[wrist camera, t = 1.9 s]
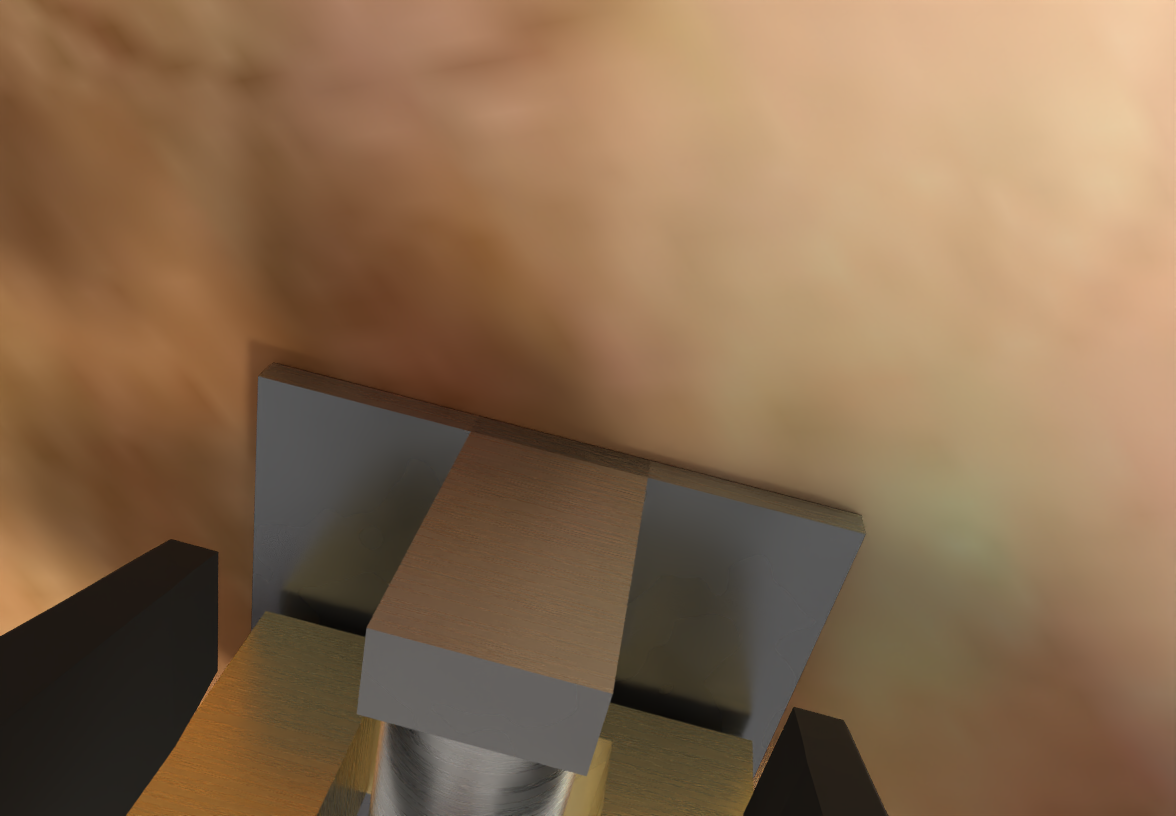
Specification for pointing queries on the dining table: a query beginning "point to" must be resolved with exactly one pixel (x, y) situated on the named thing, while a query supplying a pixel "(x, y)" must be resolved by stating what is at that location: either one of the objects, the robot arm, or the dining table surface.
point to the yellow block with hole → (349, 741)
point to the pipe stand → (526, 589)
